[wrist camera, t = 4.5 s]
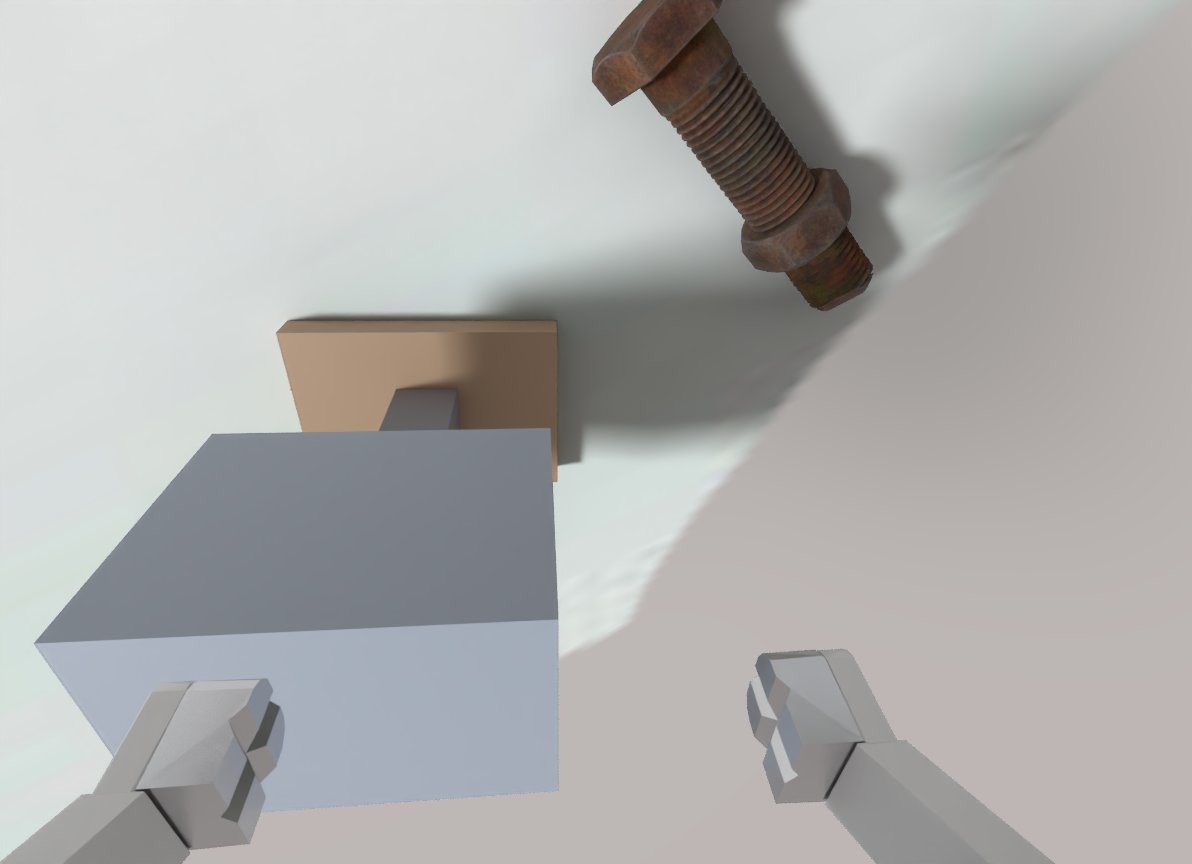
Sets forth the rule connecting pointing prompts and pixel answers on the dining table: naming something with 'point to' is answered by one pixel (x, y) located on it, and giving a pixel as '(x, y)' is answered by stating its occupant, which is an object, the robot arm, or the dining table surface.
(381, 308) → the dining table surface
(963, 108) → the dining table surface
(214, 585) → the mounted unit
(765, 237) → the bolt
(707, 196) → the dining table surface
